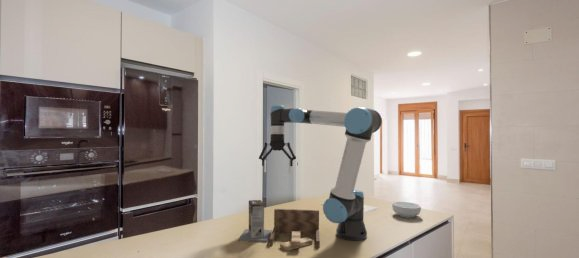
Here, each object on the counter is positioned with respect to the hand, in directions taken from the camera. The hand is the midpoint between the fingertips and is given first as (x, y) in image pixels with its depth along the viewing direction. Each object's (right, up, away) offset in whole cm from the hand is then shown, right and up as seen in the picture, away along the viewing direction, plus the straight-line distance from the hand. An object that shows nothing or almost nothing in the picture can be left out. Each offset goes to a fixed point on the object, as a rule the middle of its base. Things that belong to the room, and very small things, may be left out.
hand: (277, 172), depth 158 cm
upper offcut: (+10, -28, -26) cm, 39 cm away
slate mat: (-10, -30, -15) cm, 35 cm away
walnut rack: (+10, -30, -18) cm, 36 cm away
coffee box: (-10, -29, -15) cm, 34 cm away
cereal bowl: (+80, -31, +22) cm, 89 cm away
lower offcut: (+10, -31, -26) cm, 41 cm away
